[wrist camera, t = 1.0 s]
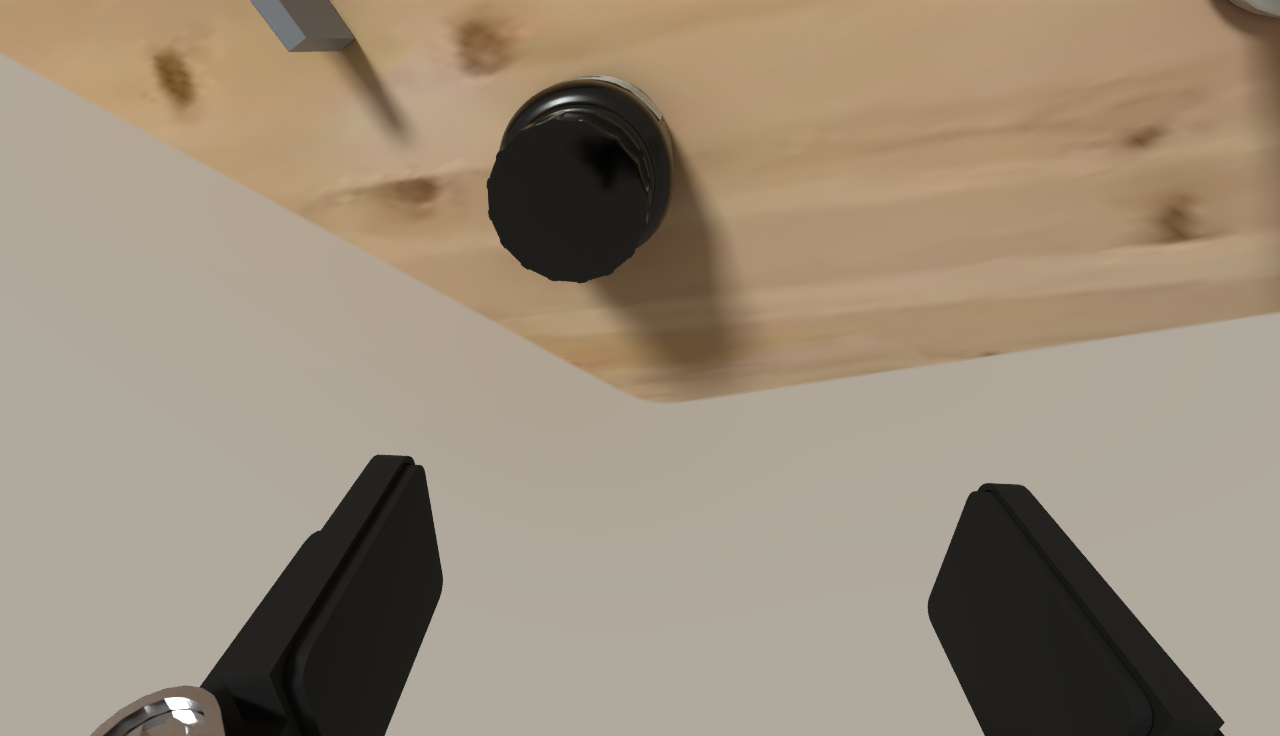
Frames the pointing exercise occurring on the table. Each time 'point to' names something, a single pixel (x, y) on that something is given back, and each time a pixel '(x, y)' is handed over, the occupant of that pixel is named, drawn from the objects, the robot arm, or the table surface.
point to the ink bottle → (581, 178)
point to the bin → (305, 24)
